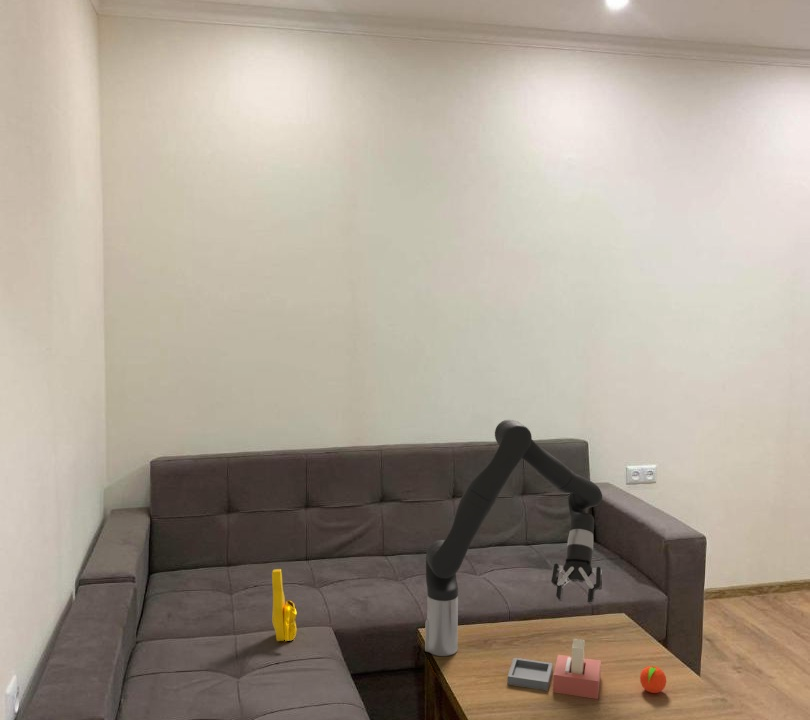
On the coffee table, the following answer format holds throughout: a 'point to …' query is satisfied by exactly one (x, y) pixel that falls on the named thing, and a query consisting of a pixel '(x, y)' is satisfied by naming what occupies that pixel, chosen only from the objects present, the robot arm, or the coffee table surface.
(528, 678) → the tray
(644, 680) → the clementine
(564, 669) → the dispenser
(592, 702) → the coffee table surface
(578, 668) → the tall beige block
